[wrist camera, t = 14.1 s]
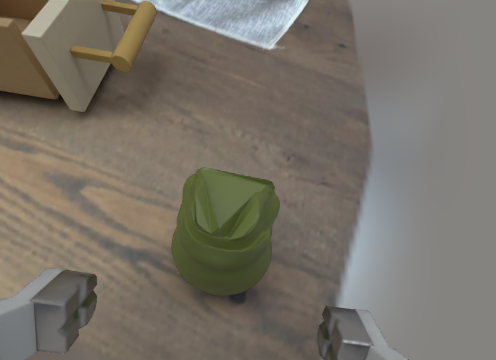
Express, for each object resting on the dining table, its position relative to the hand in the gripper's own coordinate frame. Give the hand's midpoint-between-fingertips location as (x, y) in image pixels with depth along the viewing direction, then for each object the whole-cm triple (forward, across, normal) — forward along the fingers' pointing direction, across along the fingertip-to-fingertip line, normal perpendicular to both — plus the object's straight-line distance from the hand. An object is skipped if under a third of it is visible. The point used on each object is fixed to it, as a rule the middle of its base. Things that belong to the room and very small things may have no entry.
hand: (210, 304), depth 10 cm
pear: (+9, 0, +4) cm, 10 cm away
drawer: (+19, +16, -8) cm, 26 cm away
